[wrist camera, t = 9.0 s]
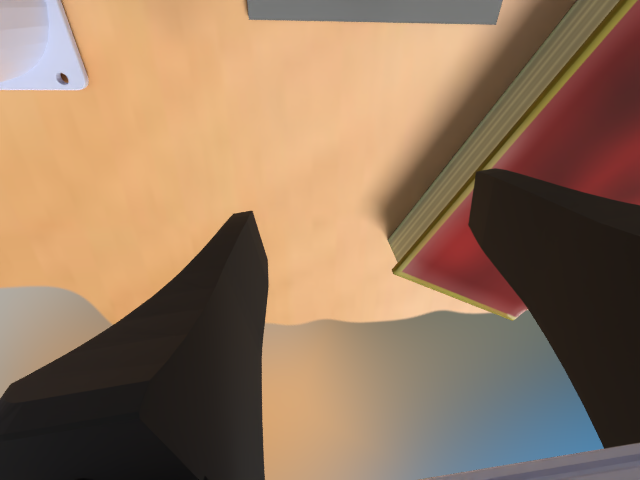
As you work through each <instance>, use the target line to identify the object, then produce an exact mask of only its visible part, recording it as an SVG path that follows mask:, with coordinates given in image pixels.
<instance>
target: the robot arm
mask: <svg viewBox="0 0 640 480" xmlns="http://www.w3.org/2000/svg"><path fill="white" fill-rule="evenodd" d="M61 73H63V74H65V75H66V76H67V78H68V80H69V83H66V82H64V81H63V80H62V78H61ZM88 83H89V80H88V76H87V73H86V70H85V68H84V65H83V62H82V59H81V56H80V53H79V51H78V48H77V45H76V42H75V39H74V37H73V34H72V31H71V28H70V25H69V22H68V20H67V17H66V14H65V11H64V8H63V5H62V3H61V0H0V90H81V89H84V88H86V87H87V86H88ZM468 226H469V227H470V229H471V231H472V233H473V235H474V237H475V239H476V241H477V242H478V244H479V246H480V247H481V249H482V250H483V252H484V253H485V254H486V256H487V257H488V258H489V260H490V261H491V262H492V263H493V265H494V266H495V267H496V268H497V270H498V271H499V272H500V274H501V275H502V276H503V277H504V279H505V280H506V281H507V282H508V284H509V285H510V286H511V287H512V289H513V290H514V291H515V292H516V294H517V295H518V296H519V297H520V299H521V300H522V301H523V303H524V304H525V305H526V307H527V308H528V310H529V311H530V312H531V314H532V316H533V317H534V319H535V320H536V322H537V324H538V325H539V327H540V328H541V330H542V332H543V333H544V335H545V336H546V338H547V340H548V341H549V343H550V345H551V346H552V348H553V350H554V352H555V354H556V355H557V357H558V359H559V360H560V362H561V364H562V366H563V367H564V369H565V371H566V373H567V375H568V377H569V379H570V380H571V382H572V384H573V386H574V388H575V390H576V392H577V393H578V396H579V397H580V399H581V401H582V403H583V405H584V407H585V409H586V411H587V413H588V415H589V417H590V420H591V421H592V424H593V426H594V428H595V430H596V432H597V434H598V436H599V438H600V440H601V442H602V444H603V447H604V449H600V450H594V451H588V452H582V453H576V454H570V455H563V456H557V457H551V458H546V459H539V460H534V461H528V462H521V463H515V464H509V465H503V466H497V467H491V468H486V469H479V470H473V471H468V472H461V473H456V474H450V475H443V476H438V477H431V478H425V479H419V480H640V205H636V204H631V203H626V202H621V201H617V200H612V199H608V198H604V197H600V196H596V195H592V194H588V193H584V192H581V191H577V190H574V189H570V188H567V187H563V186H560V185H556V184H553V183H550V182H546V181H543V180H540V179H536V178H533V177H530V176H526V175H523V174H519V173H515V172H512V171H508V170H503V169H498V168H493V169H488V170H482V171H476V175H475V182H474V189H473V196H472V202H471V209H470V216H469V223H468ZM267 296H268V259H267V256H266V253H265V250H264V247H263V243H262V240H261V237H260V234H259V231H258V227H257V224H256V221H255V218H254V215H253V211H247V212H241V213H235V214H233V215H232V216H231V217H230V218H229V219H228V220H227V221H226V223H225V224H224V225H223V226H222V227H221V229H220V230H219V231H218V232H217V233H216V234H215V236H214V237H213V238H212V239H211V240H210V241H209V243H208V244H207V245H206V246H205V247H204V248H203V249H202V250H201V252H200V253H199V254H198V255H197V256H196V257H195V258H194V259H193V260H192V261H191V262H190V263H189V264H188V265H187V266H186V267H185V268H184V269H183V270H182V271H181V272H180V273H179V274H178V275H177V276H176V277H175V278H174V279H172V280H171V281H170V282H169V283H168V284H167V285H166V286H164V287H163V288H162V289H161V290H160V291H159V292H157V293H156V294H155V295H154V296H152V297H151V298H150V299H149V300H147V301H146V302H144V303H143V304H142V305H140V306H139V307H138V308H136V309H135V310H134V311H132V312H131V313H130V314H128V315H127V316H126V317H124V318H123V319H121V320H120V321H119V322H117V323H116V324H114V325H113V326H111V327H110V328H108V329H106V330H105V331H103V332H102V333H100V334H99V335H97V336H96V337H94V338H92V339H91V340H89V341H87V342H86V343H84V344H83V345H81V346H79V347H78V348H76V349H74V350H72V351H71V352H69V353H67V354H66V355H64V356H62V357H60V358H58V359H56V360H55V361H53V362H51V363H49V364H47V365H46V366H44V367H42V368H40V369H38V370H36V371H35V372H33V373H31V374H29V375H27V376H26V377H24V378H22V379H20V380H18V381H16V382H14V383H12V384H11V385H10V386H9V387H8V389H7V390H6V391H5V393H4V394H3V396H2V397H1V398H0V480H265V476H264V457H263V456H264V455H263V427H262V374H261V373H262V343H263V333H264V325H265V315H266V306H267Z"/></svg>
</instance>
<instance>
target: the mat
mask: <svg viewBox="0 0 640 480" xmlns="http://www.w3.org/2000/svg"><path fill="white" fill-rule="evenodd" d="M502 1H503V0H247V3H248V15H249V20H295V21H344V22H393V23H441V24H490V25H496V22H497V19H498V15H499V12H500V8H501V4H502Z"/></svg>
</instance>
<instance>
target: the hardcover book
mask: <svg viewBox="0 0 640 480" xmlns="http://www.w3.org/2000/svg"><path fill="white" fill-rule="evenodd" d="M493 168H498V169H503V170H508V171H512V172H515V173H519V174H523V175H526V176H530V177H533V178H536V179H540V180H543V181H546V182H550V183H553V184H556V185H560V186H563V187H567V188H570V189H574V190H577V191H581V192H584V193H588V194H592V195H596V196H600V197H604V198H608V199H612V200H617V201H621V202H626V203H631V204H636V205H640V0H577V1H576V2H575V3H574V5H573V6H572V7H571V9H570V10H569V11H568V12H567V14H566V15H565V16H564V17H563V19H562V20H561V21H560V22H559V24H558V25H557V26H556V28H555V29H554V30H553V31H552V33H551V34H550V35H549V36H548V38H547V39H546V40H545V41H544V43H543V44H542V45H541V47H540V48H539V49H538V50H537V52H536V53H535V54H534V55H533V57H532V58H531V59H530V60H529V62H528V63H527V64H526V66H525V67H524V68H523V69H522V71H521V72H520V73H519V74H518V76H517V77H516V78H515V79H514V81H513V82H512V83H511V85H510V86H509V87H508V88H507V90H506V91H505V92H504V93H503V95H502V96H501V97H500V98H499V100H498V101H497V102H496V104H495V105H494V106H493V107H492V109H491V110H490V111H489V112H488V114H487V115H486V116H485V117H484V119H483V120H482V121H481V123H480V124H479V125H478V126H477V128H476V129H475V130H474V131H473V133H472V134H471V135H470V136H469V138H468V139H467V140H466V141H465V143H464V144H463V145H462V147H461V148H460V149H459V150H458V152H457V153H456V154H455V155H454V157H453V158H452V159H451V160H450V162H449V163H448V164H447V166H446V167H445V168H444V169H443V171H442V172H441V173H440V174H439V176H438V177H437V178H436V179H435V181H434V182H433V183H432V185H431V186H430V187H429V188H428V190H427V191H426V192H425V193H424V195H423V196H422V197H421V198H420V200H419V201H418V202H417V204H416V205H415V206H414V207H413V209H412V210H411V211H410V212H409V214H408V215H407V216H406V217H405V219H404V220H403V221H402V223H401V224H400V225H399V226H398V228H397V229H396V230H395V231H394V233H393V234H392V235H391V236H390V238H389V239H388V242H389V244H390V246H391V249H392V251H393V253H394V255H395V258H396V260H397V262H398V263H397V264H396V266H395V267H394V268H393V269H392V272H393V274H395V275H397V276H400V277H403V278H405V279H408V280H410V281H413V282H415V283H418V284H420V285H423V286H425V287H428V288H431V289H433V290H436V291H438V292H441V293H443V294H446V295H448V296H451V297H453V298H456V299H459V300H461V301H464V302H466V303H469V304H471V305H474V306H476V307H479V308H481V309H484V310H487V311H489V312H492V313H494V314H497V315H500V316H502V317H505V318H507V319H510V320H512V321H513V320H515V319H516V318H517V317H518V316H519V315H521V314H522V313H523V312H524V311H526V310H527V309H528V308H527V307H526V305H525V304H524V303H523V301H522V300H521V299H520V297H519V296H518V295H517V294H516V292H515V291H514V290H513V289H512V287H511V286H510V285H509V284H508V282H507V281H506V280H505V279H504V277H503V276H502V275H501V274H500V272H499V271H498V270H497V268H496V267H495V266H494V265H493V263H492V262H491V261H490V260H489V258H488V257H487V256H486V254H485V253H484V252H483V250H482V249H481V247H480V246H479V244H478V242H477V241H476V239H475V237H474V235H473V233H472V231H471V229H470V227H469V226H468V223H469V216H470V209H471V202H472V196H473V189H474V182H475V175H476V171H482V170H488V169H493Z"/></svg>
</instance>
